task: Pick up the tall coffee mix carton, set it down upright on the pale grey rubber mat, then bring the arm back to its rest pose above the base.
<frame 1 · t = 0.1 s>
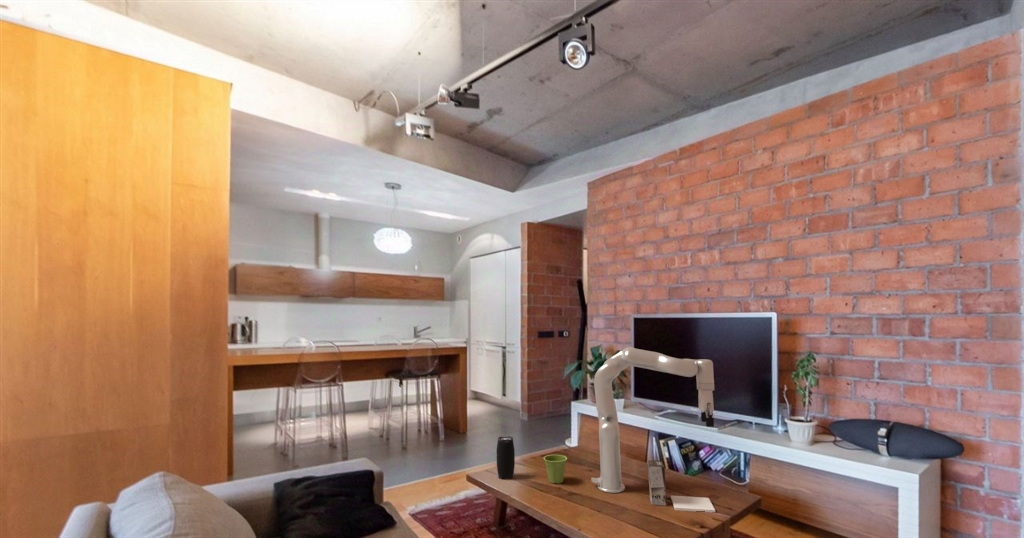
hand: (707, 423, 211), 31 cm above the table, tool pointing down, fingers open, 9 cm apart
portable speaker: (505, 477, 234), on the table
rest mat: (692, 505, 197), on the table
coffee box: (657, 501, 201), on the table
plant pot: (555, 481, 227), on the table
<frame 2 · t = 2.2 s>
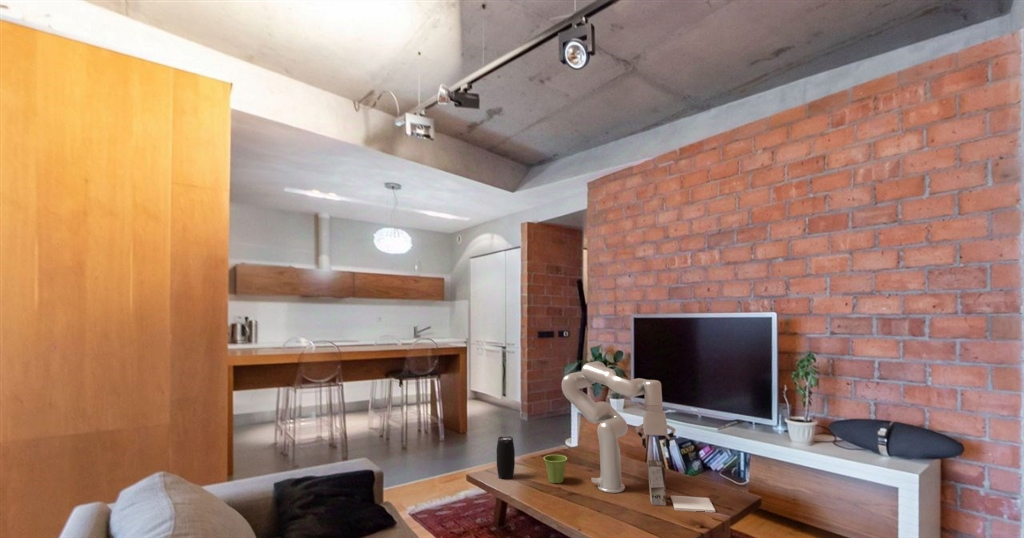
hand: (656, 447, 203), 23 cm above the table, tool pointing down, fingers open, 9 cm apart
nothing on the table moved.
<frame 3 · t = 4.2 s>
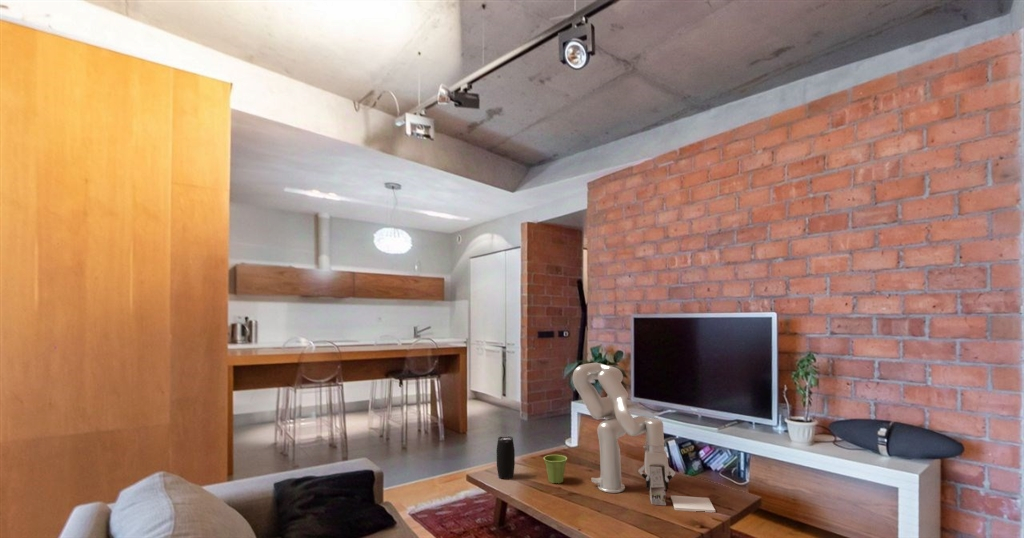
hand: (657, 489, 202), 5 cm above the table, tool pointing down, fingers closed on coffee box, 6 cm apart
coffee box: (657, 501, 201), on the table, touching gripper
everything else where it was.
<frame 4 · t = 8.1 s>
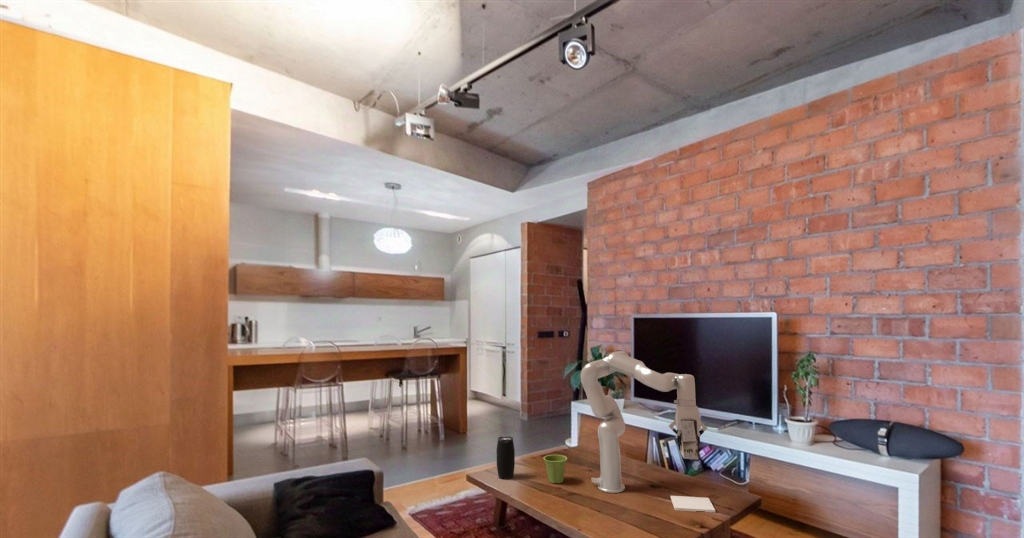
hand: (688, 444, 199), 25 cm above the table, tool pointing down, fingers closed on coffee box, 6 cm apart
coffee box: (689, 456, 199), point 20 cm above the table, touching gripper
everything else where it was.
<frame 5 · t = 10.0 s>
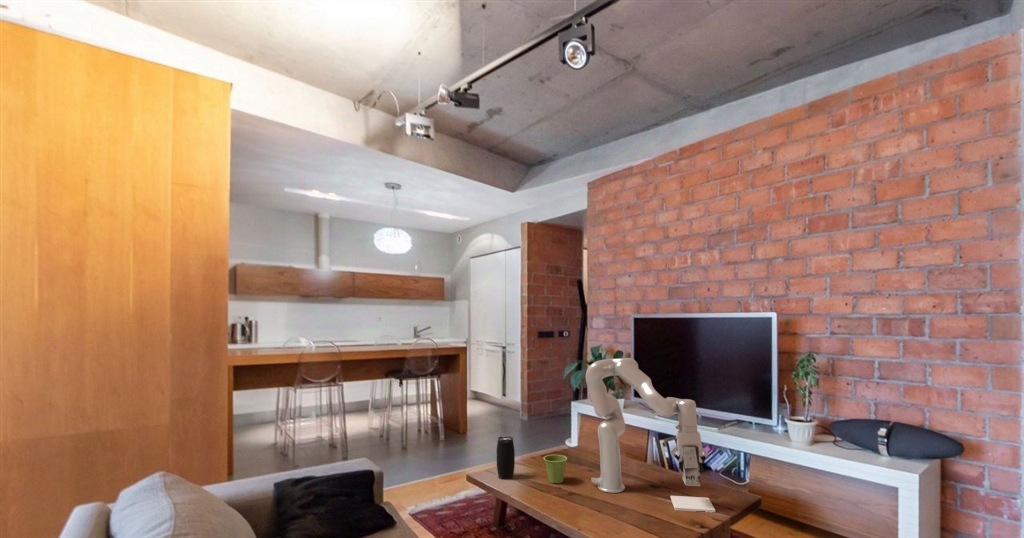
hand: (690, 470, 198), 14 cm above the table, tool pointing down, fingers closed on coffee box, 6 cm apart
coffee box: (691, 482, 197), point 9 cm above the table, touching gripper
everything else where it was.
when the fingers open (7 cm above the table, at t = 11.9 s): coffee box drops 1 cm, resting on rest mat.
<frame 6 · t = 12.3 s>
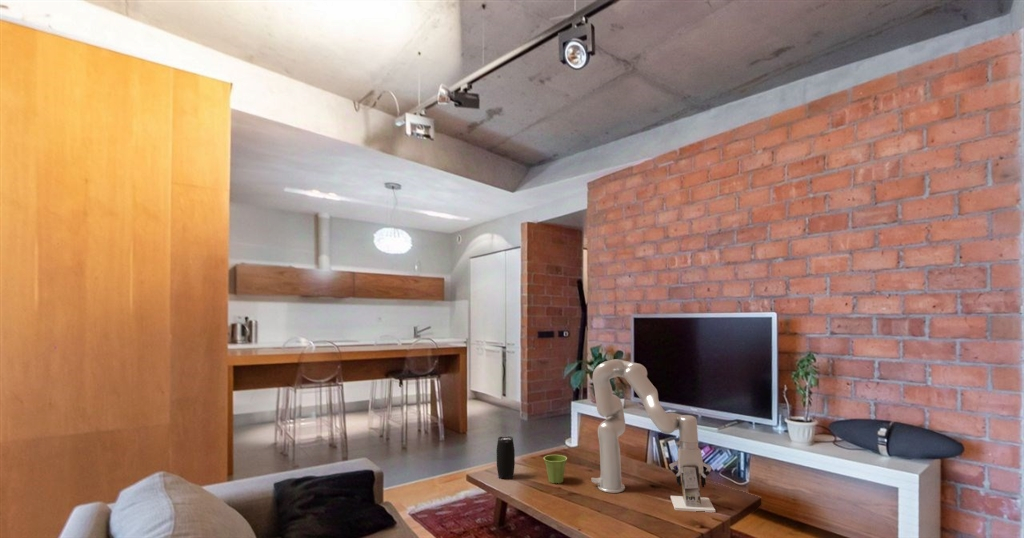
hand: (691, 485, 197), 8 cm above the table, tool pointing down, fingers open, 9 cm apart
coffee box: (691, 502, 197), point 1 cm above the table, touching rest mat
everything else where it was.
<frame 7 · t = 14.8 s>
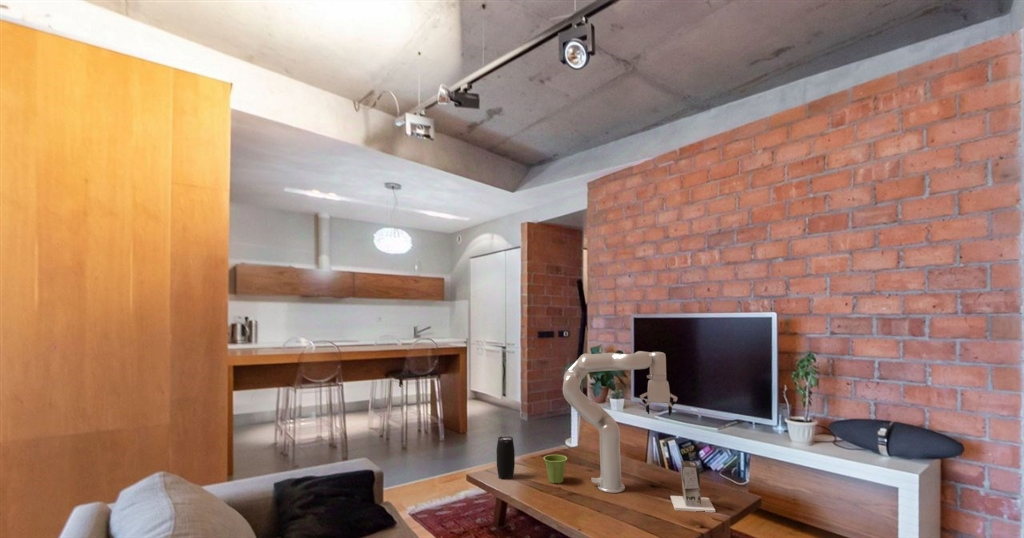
hand: (658, 414, 218), 34 cm above the table, tool pointing down, fingers open, 9 cm apart
nothing on the table moved.
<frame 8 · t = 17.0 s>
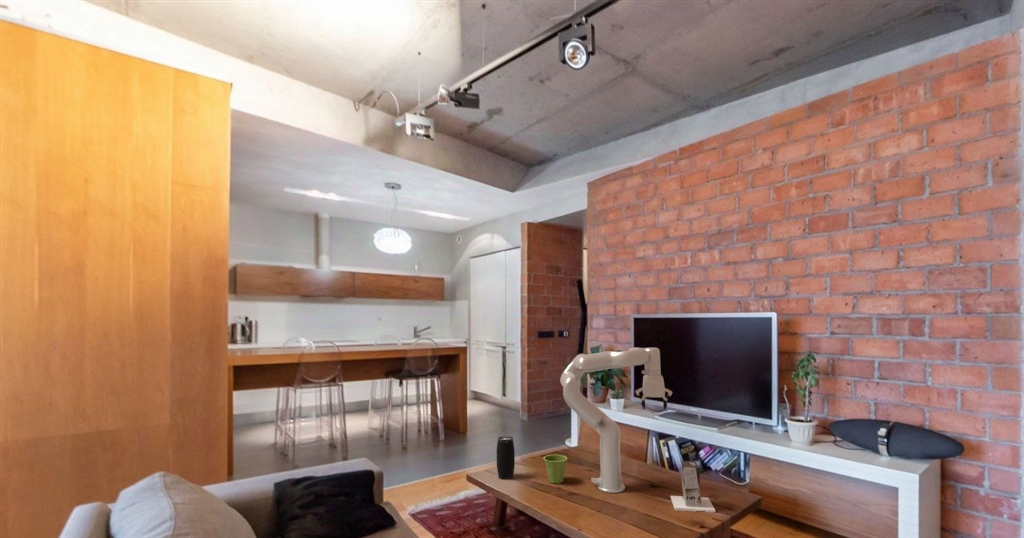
hand: (654, 408, 222), 36 cm above the table, tool pointing down, fingers open, 9 cm apart
nothing on the table moved.
at the end: coffee box inside the target area on the rest mat (0.1 cm from its centre), point 0.8 cm above the rest mat's base; coffee box tilted 0°; the gripper is holding nothing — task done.
